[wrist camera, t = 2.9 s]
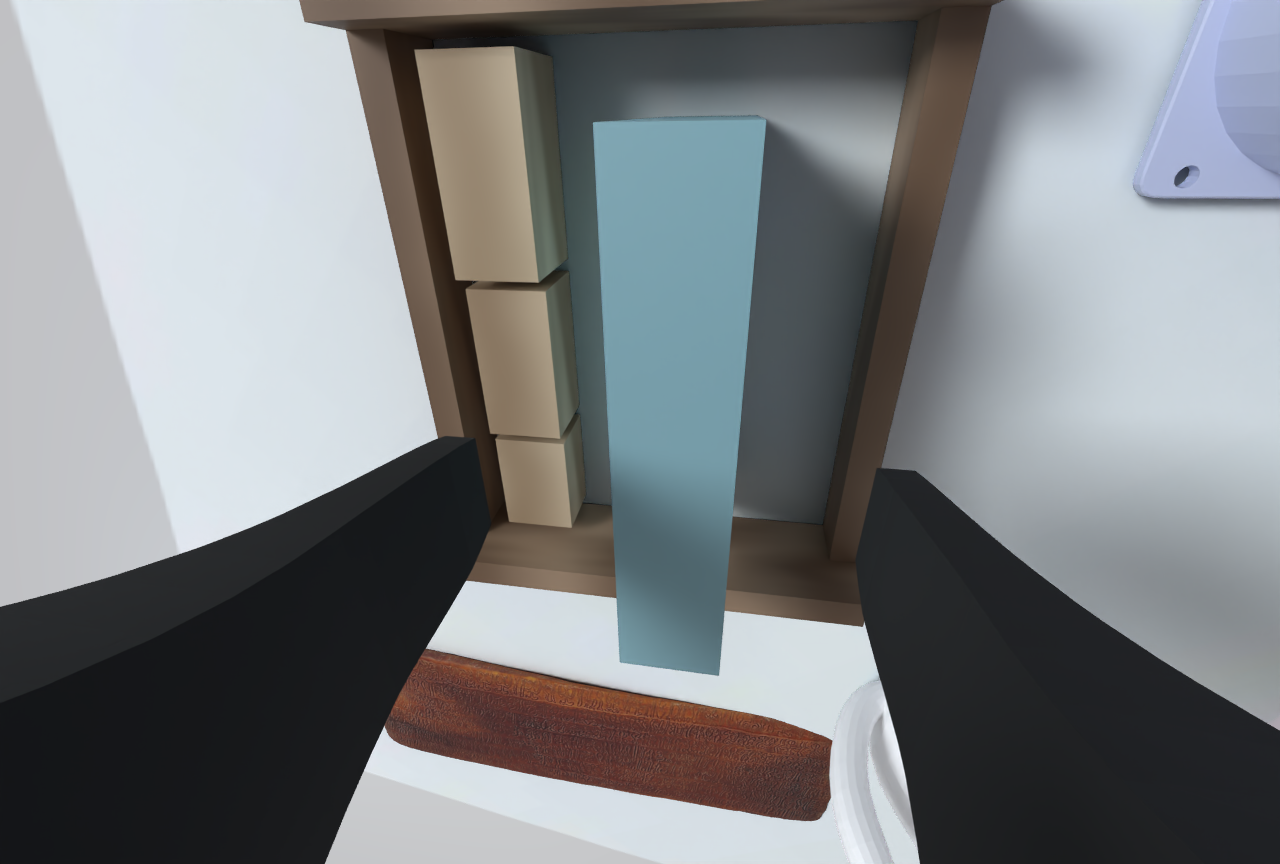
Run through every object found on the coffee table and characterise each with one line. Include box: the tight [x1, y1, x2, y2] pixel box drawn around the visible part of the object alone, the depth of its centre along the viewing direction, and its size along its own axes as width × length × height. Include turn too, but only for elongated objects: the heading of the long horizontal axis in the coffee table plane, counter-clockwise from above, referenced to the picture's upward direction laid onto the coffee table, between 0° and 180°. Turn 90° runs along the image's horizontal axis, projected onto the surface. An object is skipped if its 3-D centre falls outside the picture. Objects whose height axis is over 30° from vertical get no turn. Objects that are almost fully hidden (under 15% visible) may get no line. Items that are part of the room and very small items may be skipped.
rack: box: [299, 0, 1003, 627], centre depth 17 cm, size 15×18×4 cm
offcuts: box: [415, 46, 586, 528], centre depth 18 cm, size 2×15×3 cm, turn 1°
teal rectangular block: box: [593, 115, 766, 676], centre depth 15 cm, size 2×12×9 cm, turn 0°
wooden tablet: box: [385, 649, 832, 821], centre depth 31 cm, size 27×10×2 cm, turn 85°
